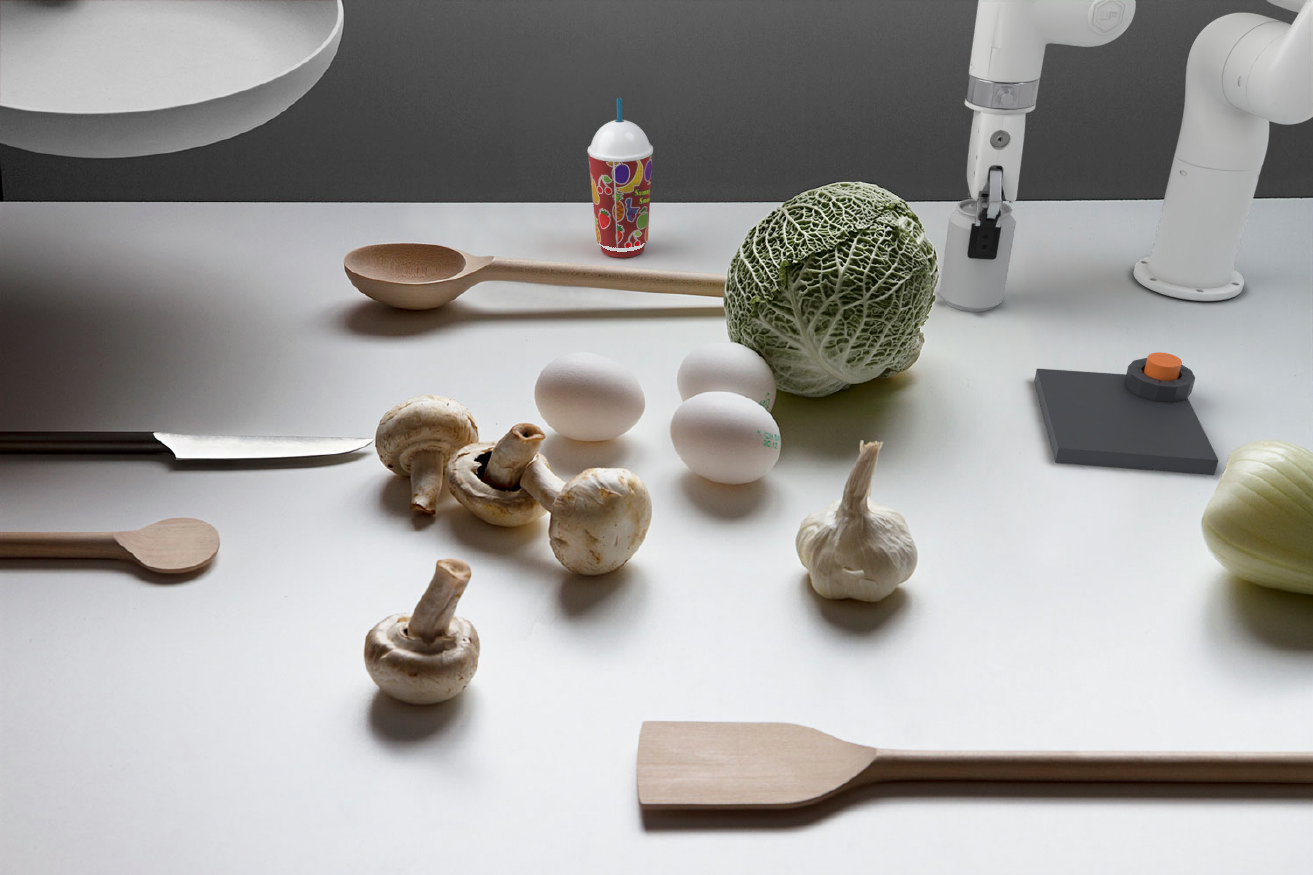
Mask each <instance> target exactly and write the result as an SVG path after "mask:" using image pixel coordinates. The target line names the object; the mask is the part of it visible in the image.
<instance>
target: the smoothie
mask: <svg viewBox="0 0 1313 875" xmlns="http://www.w3.org/2000/svg"><path fill="white" fill-rule="evenodd" d="M586 152H587V155H588V166H589V174H590V175H589V176H590V186H591V194H592V195H591V196H592V206H593V215H594V216H593V217H594V225H595V237H596V242H597V241H598V242H599V243H600V244H601V245H603V246H609V247H612V248H613V247H614V248H615V247H616V248H629V247H634V246H640V245H642V244H643V243H646V241H647V240H648V241H649V227H650V207H651V205H650V204H651V191H652V190H651V189H652V188H651V187H652V169H653V168H652V167H653V155H654V154H653V153H654V147H653V145H652V144H651V142H650V141H649V138H648V136H647V135H646V133H645V132H644V131H643V129H642V128H641V127H640V126H639V125H638V124H636V123H634V122H632V121H630V120H627V119H623V99H622V98H621V97H617V98H616V119H614V120H610V121H608V122H606V123H605V124H603V125H602V126H601V127H599V129H598V130H597V131H596V132H595V134H594V135H593V137H592V140H591V143H590V145H589V146H588V147H587V151H586ZM646 244H647V243H646ZM645 246H646V245H644V246H643V247H642V248H640V249H637V250H634V251H627V252H617V251H610V250H607V249H605V248H603V247H602V246H600V250H601V253H602V254H604V255H606V256H608V257H612V258H619V259H627V258H633V257H636V256H638V255H640V254H642V253H643V252H644V251H645Z"/></svg>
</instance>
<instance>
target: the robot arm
mask: <svg viewBox="0 0 1313 875" xmlns="http://www.w3.org/2000/svg"><path fill="white" fill-rule="evenodd" d="M1266 2H1268V3H1269V4H1271V5H1274V6H1277V7H1280V8H1282V9H1284V10H1288V11H1291V12H1294V13H1298V14H1297V16H1296V17H1295V18H1294V20H1293V22H1292V23H1291V24H1290V23H1288V22H1286V21H1282V20H1279V19H1275V18H1272V17H1269V16H1265V15H1262V14H1257V13H1254V12H1253V13H1252V12H1233V13H1229V14H1228V13H1227V14H1225V15H1222V16H1221V17H1218V18H1215V19H1214V20H1213V21H1211V22H1210V23H1208V24H1207V25H1206V26H1205V27H1204V28H1203V29H1202V30H1201V31H1200V32H1199V33H1198V34H1197V36H1196V38H1195V40H1194V41H1193V43H1192V45H1191V48H1190V50H1189V54H1188V57H1187V62H1186V68H1185V84H1184V85H1185V86H1184V87H1185V88H1184V89H1185V90H1184V92H1185V93H1184V104H1183V105H1184V106H1183V114H1182V119H1181V125H1180V130H1179V135H1178V138H1177V143H1176V147H1175V152H1174V155H1173V159H1172V164H1171V168H1170V173H1169V176H1168V180H1167V185H1166V190H1165V194H1164V197H1163V203H1162V206H1161V209H1160V210H1161V211H1160V216H1159V219H1158V224H1157V229H1156V231H1155V237H1154V241H1153V244H1152V250H1151V254H1150V255H1149V256H1146V257H1143V258H1141V259H1139V260H1138V261H1137V262H1136V263H1135V265H1134V268H1133V277H1134V278H1135V280H1136V281H1137V283H1139V284H1140V285H1142V286H1143V287H1145V288H1146V289H1149V290H1151V291H1152V292H1156V293H1158V294H1161V295H1164V296H1168V297H1172V298H1176V299H1180V300H1181V299H1182V300H1188V301H1199V302H1215V301H1216V302H1217V301H1224V300H1230V299H1231V298H1232V299H1233V298H1235V297H1237V296H1238V295H1240V294H1241V292H1242V291H1243V289H1244V285H1245V279H1244V277H1243V276H1242V274H1241V273H1240V272H1238V270H1236V269H1235V264H1236V262H1237V258H1238V254H1239V252H1240V251H1239V250H1240V247H1241V243H1242V240H1243V236H1244V232H1245V229H1246V227H1247V226H1246V225H1247V222H1248V218H1249V214H1250V211H1251V208H1252V204H1253V201H1254V196H1255V193H1256V190H1257V186H1258V182H1259V179H1260V175H1261V171H1262V168H1263V165H1264V161H1265V159H1266V155H1267V151H1268V146H1269V139H1270V122H1271V123H1275V124H1278V125H1287V126H1289V125H1296V124H1301V123H1304V122H1306V121H1308V120H1310V119H1312V118H1313V0H1266ZM1136 4H1137V3H1136V0H978V2H977V8H976V16H975V23H974V31H973V38H972V39H973V40H972V44H971V45H972V47H971V54H970V61H969V69H968V76H967V83H966V90H965V98H964V105H965V107H966V108H968V109H971V110H973V116H972V122H971V130H970V137H969V144H968V152H967V164H966V165H967V166H966V180H967V181H966V182H967V186H968V194H967V197H968V198H966V199H965V200H967V199H973V200H975V201H976V212H975V223H972V225H971V232H970V239H969V246H968V252H967V255H968V257H969V258H971V259H989V260H994V259H996V257H997V251H998V245H999V239H1000V232H1001V218H1002V206H1003V203H1004V199H1005V202H1008V203H1009V204H1013V203H1014V202H1016V200H1017V199H1018V198H1017V197H1018V189H1019V181H1020V173H1021V166H1022V158H1023V152H1024V150H1023V149H1024V142H1025V132H1026V131H1025V130H1026V117H1027V116H1026V114H1027V113H1031V112H1033V111H1034V110H1036V105H1037V100H1038V93H1039V87H1040V81H1041V76H1042V69H1043V63H1044V57H1045V52H1046V46H1047V45H1048V44H1055V45H1056V44H1057V45H1064V46H1065V45H1066V46H1073V47H1074V46H1075V47H1083V48H1091V47H1092V48H1093V47H1099V46H1102V45H1106V44H1108V43H1111V42H1113V41H1115V40H1116V39H1117V38H1119V37H1121V35H1123V34H1124V33H1125V31H1126V30H1127V29H1128V28H1129V27H1130V25H1131V23H1132V21H1133V18H1134V17H1135V13H1136ZM982 204H985V205H987V208H984V209H983V210H982Z"/></svg>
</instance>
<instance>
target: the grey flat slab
mask: <svg viewBox="0 0 1313 875" xmlns="http://www.w3.org/2000/svg"><path fill="white" fill-rule="evenodd" d="M1146 361H1147V357H1144V358H1139V359H1138V358H1137V359H1134V360H1132V362H1131V363H1129V365H1127V369H1126V374H1125V373H1113V372H1112V373H1111V372H1097V371H1096V372H1095V371H1083V370H1082V371H1080V370H1066V369H1054V368H1053V369H1052V368H1051V369H1050V368H1036V370H1035V376H1034V381H1033V384H1034V388H1035V391H1036V395H1037V399H1038V402H1039V407H1040V410H1041V414H1042V417H1043V422H1044V425H1045V429H1046V433H1047V437H1048V441H1049V444H1050V448H1051V452H1052V456H1053V460H1054V463H1055V464H1066V465H1076V466H1077V465H1078V466H1088V467H1105V468H1115V469H1127V470H1128V469H1129V470H1141V471H1155V472H1167V473H1168V472H1170V473H1178V474H1179V473H1180V474H1191V475H1192V474H1193V475H1206V476H1207V475H1208V476H1215V473H1216V470H1217V467H1218V463H1219V458H1218V456H1217V454H1216V452H1215V450H1214V448H1213V446H1212V445H1211V442H1210V440H1209V438H1208V436H1207V434H1206V432H1205V430H1204V428H1203V425H1202V424H1201V422H1200V420H1199V417H1198V416H1197V413H1196V412H1195V409H1194V408H1193V405H1192V404H1191V402H1190V399H1189V397H1190V395H1191V394H1192V392H1193V388H1194V384H1195V382H1196V375H1194V372H1193V370H1191V369H1190V368H1188V367H1187V366H1186V365H1184V364H1182V365H1181V368H1180V372H1179V376H1178V379H1177V380H1173V381H1164V380H1158V379H1154V378H1151V377H1149V376H1147V375H1146V374H1144V369H1145V365H1146Z"/></svg>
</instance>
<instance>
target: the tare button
mask: <svg viewBox="0 0 1313 875" xmlns="http://www.w3.org/2000/svg"><path fill="white" fill-rule="evenodd" d="M1146 358H1147V361H1146V365H1145V369H1144V374H1146V375H1147V376H1149V377H1151V378H1154V379H1158V380H1164V381H1173V380H1177V379H1178V376H1179V372H1180V368H1181V365H1183V361H1182V359H1180V357H1179V356H1176V355H1174V354H1171V353H1168V352H1161V351H1159V352H1158V351H1157V352H1152V353H1149V354H1148V356H1147V357H1146Z"/></svg>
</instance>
